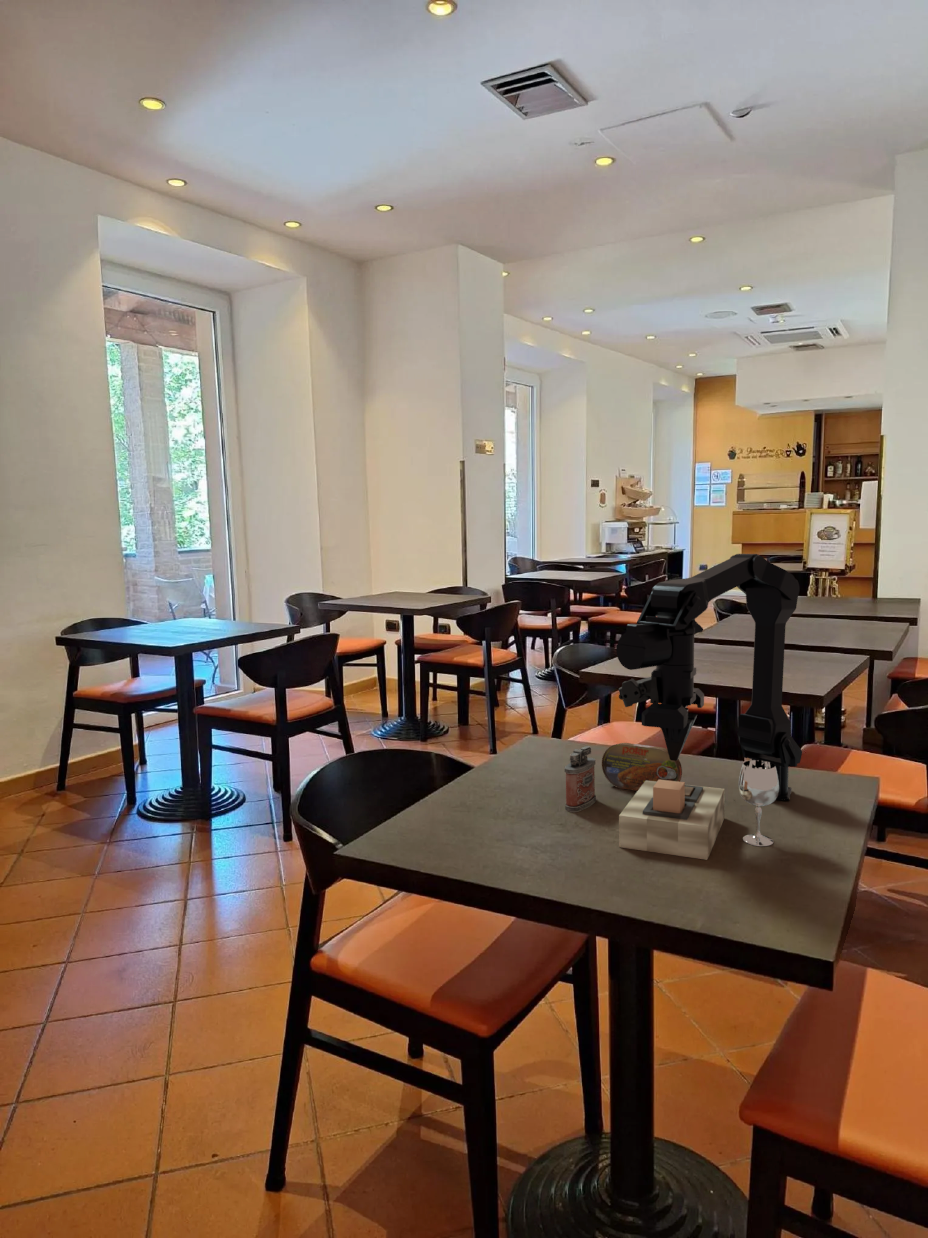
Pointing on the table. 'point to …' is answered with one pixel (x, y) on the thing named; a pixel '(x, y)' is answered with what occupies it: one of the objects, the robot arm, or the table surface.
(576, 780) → the lighter
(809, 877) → the table surface
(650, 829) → the board
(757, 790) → the wineglass
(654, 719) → the robot arm
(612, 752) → the tin
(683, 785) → the peg
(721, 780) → the table surface
